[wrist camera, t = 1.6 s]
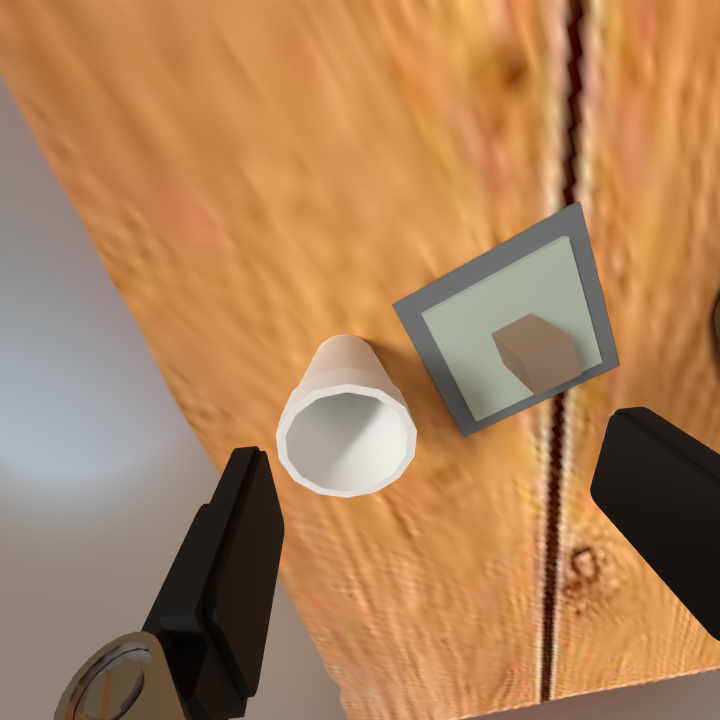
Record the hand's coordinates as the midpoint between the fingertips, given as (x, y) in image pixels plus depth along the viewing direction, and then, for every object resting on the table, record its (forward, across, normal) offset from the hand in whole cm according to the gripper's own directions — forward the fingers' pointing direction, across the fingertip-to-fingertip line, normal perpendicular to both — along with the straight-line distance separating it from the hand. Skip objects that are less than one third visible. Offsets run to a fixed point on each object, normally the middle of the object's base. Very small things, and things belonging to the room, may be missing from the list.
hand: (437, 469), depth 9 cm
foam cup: (+24, +3, +8) cm, 26 cm away
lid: (+23, -14, +6) cm, 28 cm away
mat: (+24, -14, +6) cm, 28 cm away
